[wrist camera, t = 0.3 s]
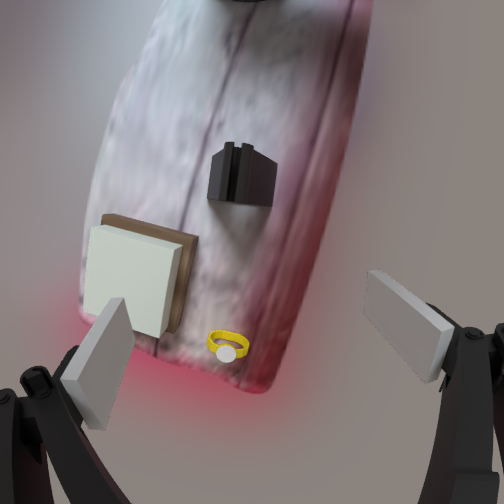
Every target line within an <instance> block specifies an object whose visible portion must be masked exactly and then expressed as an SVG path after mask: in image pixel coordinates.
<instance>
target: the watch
mask: <svg viewBox="0 0 504 504" xmlns="http://www.w3.org/2000/svg"><path fill="white" fill-rule="evenodd" d="M219 338H222V339H226V340H230V341H234V342H238V343H239V344H241V345H242V346H243V347H244V348H242V349H236V348H235V347H234V346H233V345H232V344H229V343H223V344H221V345H218V344H216V343H214V342H213V341H212V340H213V339H219ZM249 344H250V343H249V341H248V340H247V338H245V337H244V336H242V335H241V334H236V333H232V332H228V331H224V330H215V331H213V332H211V333H209V336H208V341H207V346H208V348H209V349H210V350H211V351H212V352H213V353H215V354H216V356H217V358H218V359H219V360H220V361H222V362H226V363H228V362H232V361H233V360H234V359H235V358H241V357H243V356H245V355H247V352H248V348H249Z"/></svg>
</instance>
